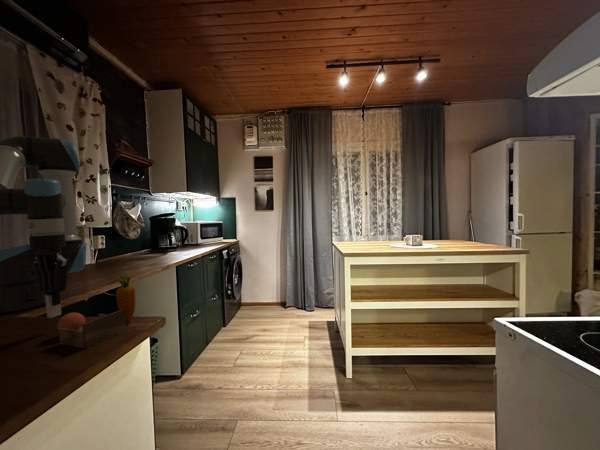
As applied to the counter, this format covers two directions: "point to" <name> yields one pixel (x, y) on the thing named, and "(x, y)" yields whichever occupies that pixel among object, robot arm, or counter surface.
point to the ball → (71, 321)
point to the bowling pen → (95, 330)
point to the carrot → (126, 298)
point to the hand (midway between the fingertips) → (54, 315)
